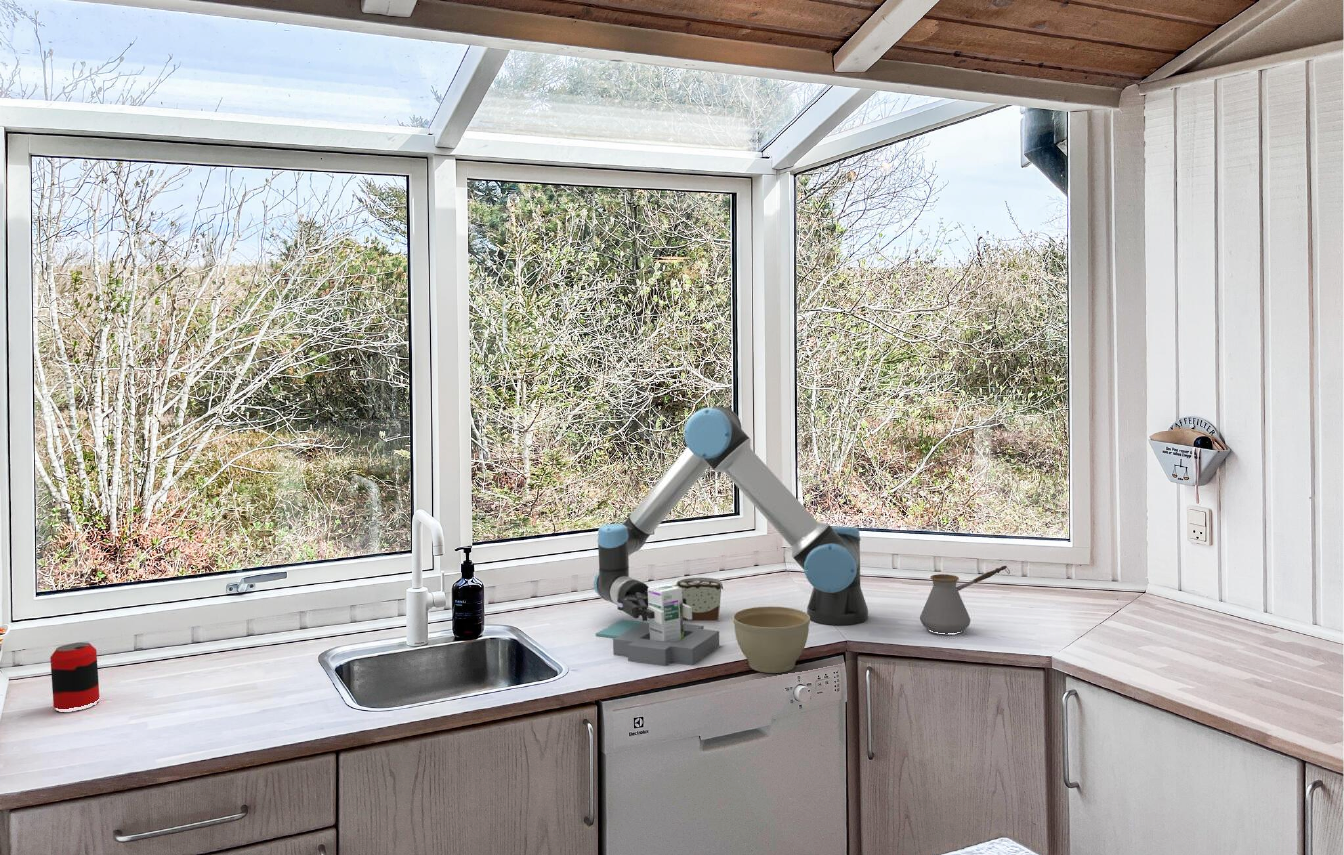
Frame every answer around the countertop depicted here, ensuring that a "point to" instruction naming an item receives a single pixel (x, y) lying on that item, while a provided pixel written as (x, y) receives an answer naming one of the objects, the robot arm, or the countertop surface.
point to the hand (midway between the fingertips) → (676, 615)
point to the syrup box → (667, 613)
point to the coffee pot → (948, 604)
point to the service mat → (618, 628)
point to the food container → (702, 598)
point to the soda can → (74, 675)
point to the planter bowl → (771, 637)
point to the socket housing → (666, 645)
